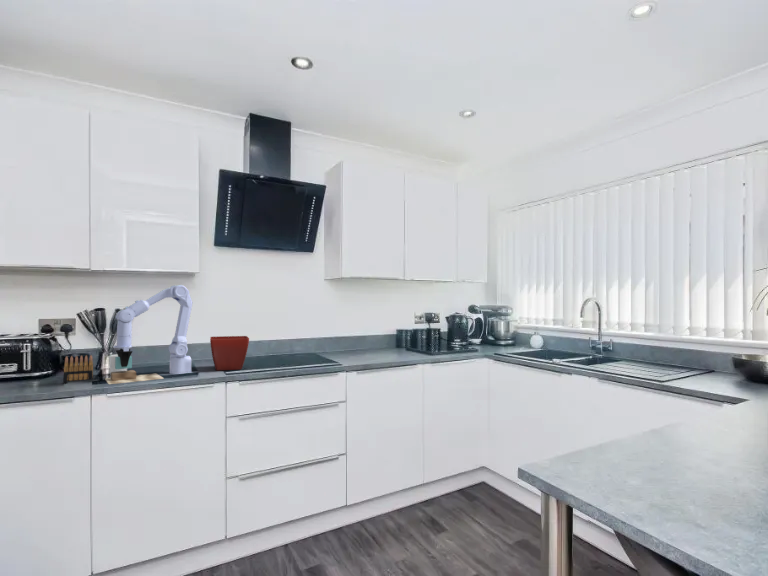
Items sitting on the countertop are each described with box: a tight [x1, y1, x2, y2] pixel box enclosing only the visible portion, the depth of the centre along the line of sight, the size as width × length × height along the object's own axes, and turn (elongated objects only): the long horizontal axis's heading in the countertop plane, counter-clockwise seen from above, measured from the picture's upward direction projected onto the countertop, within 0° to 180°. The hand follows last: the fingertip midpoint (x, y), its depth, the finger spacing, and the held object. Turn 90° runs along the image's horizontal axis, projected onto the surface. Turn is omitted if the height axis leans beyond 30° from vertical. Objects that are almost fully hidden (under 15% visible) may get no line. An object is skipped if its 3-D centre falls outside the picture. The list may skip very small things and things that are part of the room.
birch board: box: [104, 373, 165, 385], centre depth 186 cm, size 21×17×1 cm
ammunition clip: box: [62, 354, 94, 385], centre depth 182 cm, size 11×2×12 cm, turn 119°
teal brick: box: [115, 355, 133, 369], centre depth 185 cm, size 6×4×5 cm
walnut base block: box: [110, 369, 137, 381], centre depth 185 cm, size 9×7×3 cm
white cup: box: [108, 353, 128, 376], centre depth 199 cm, size 8×8×10 cm
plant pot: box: [209, 335, 250, 371], centre depth 220 cm, size 19×19×17 cm
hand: (123, 365), depth 185 cm, fingers closed on teal brick, 4 cm apart
